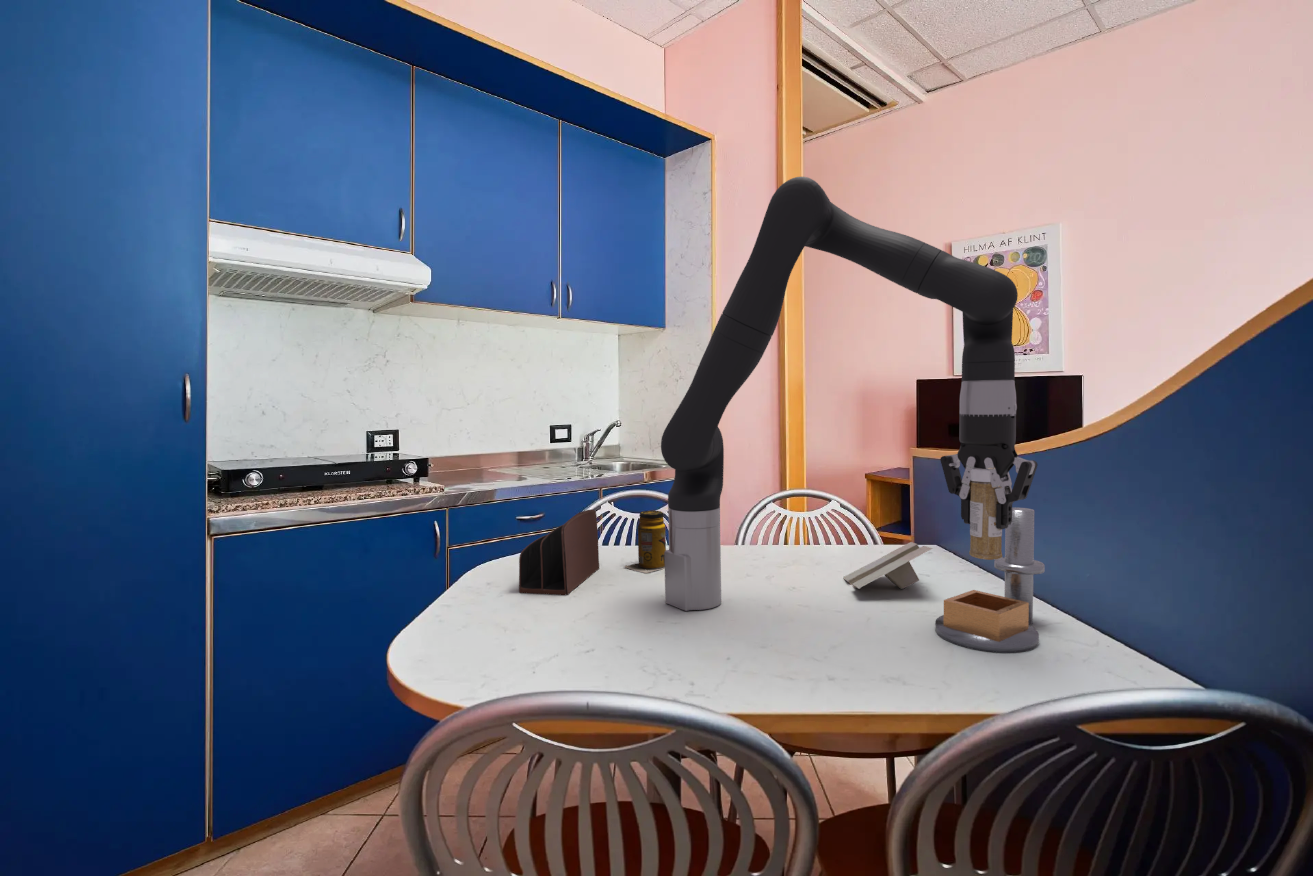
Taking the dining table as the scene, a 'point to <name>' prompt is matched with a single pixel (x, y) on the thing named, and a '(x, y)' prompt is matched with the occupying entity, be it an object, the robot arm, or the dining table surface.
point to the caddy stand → (999, 599)
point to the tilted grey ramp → (890, 567)
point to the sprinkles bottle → (984, 517)
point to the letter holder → (561, 557)
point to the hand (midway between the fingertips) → (985, 525)
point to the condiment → (650, 542)
